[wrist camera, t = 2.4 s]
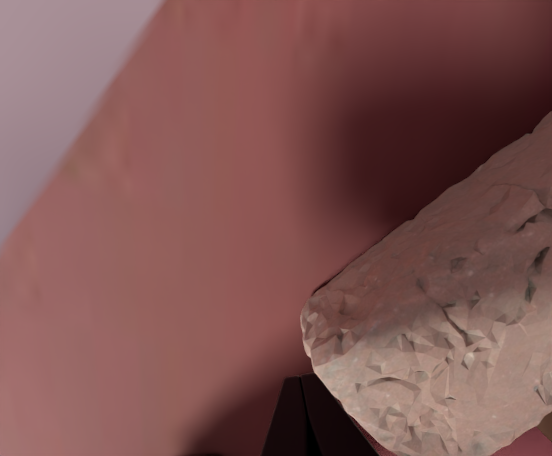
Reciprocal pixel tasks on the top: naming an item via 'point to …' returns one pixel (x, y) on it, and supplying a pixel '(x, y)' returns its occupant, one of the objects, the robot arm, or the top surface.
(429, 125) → the top surface
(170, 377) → the top surface
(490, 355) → the brick
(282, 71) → the top surface
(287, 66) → the top surface
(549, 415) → the shelf frame
